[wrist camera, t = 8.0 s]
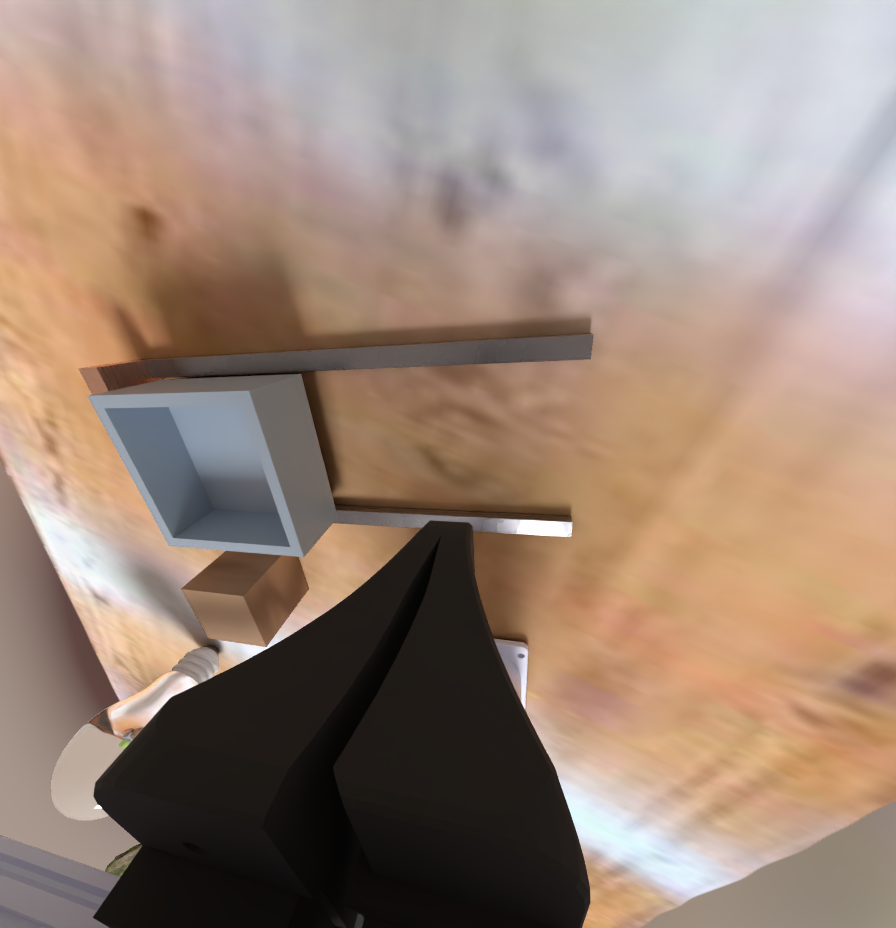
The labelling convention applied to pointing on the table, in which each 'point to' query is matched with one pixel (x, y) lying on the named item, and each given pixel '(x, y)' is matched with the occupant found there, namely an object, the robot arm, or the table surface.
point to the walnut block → (246, 596)
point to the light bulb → (119, 734)
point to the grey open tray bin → (224, 461)
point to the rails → (371, 358)
